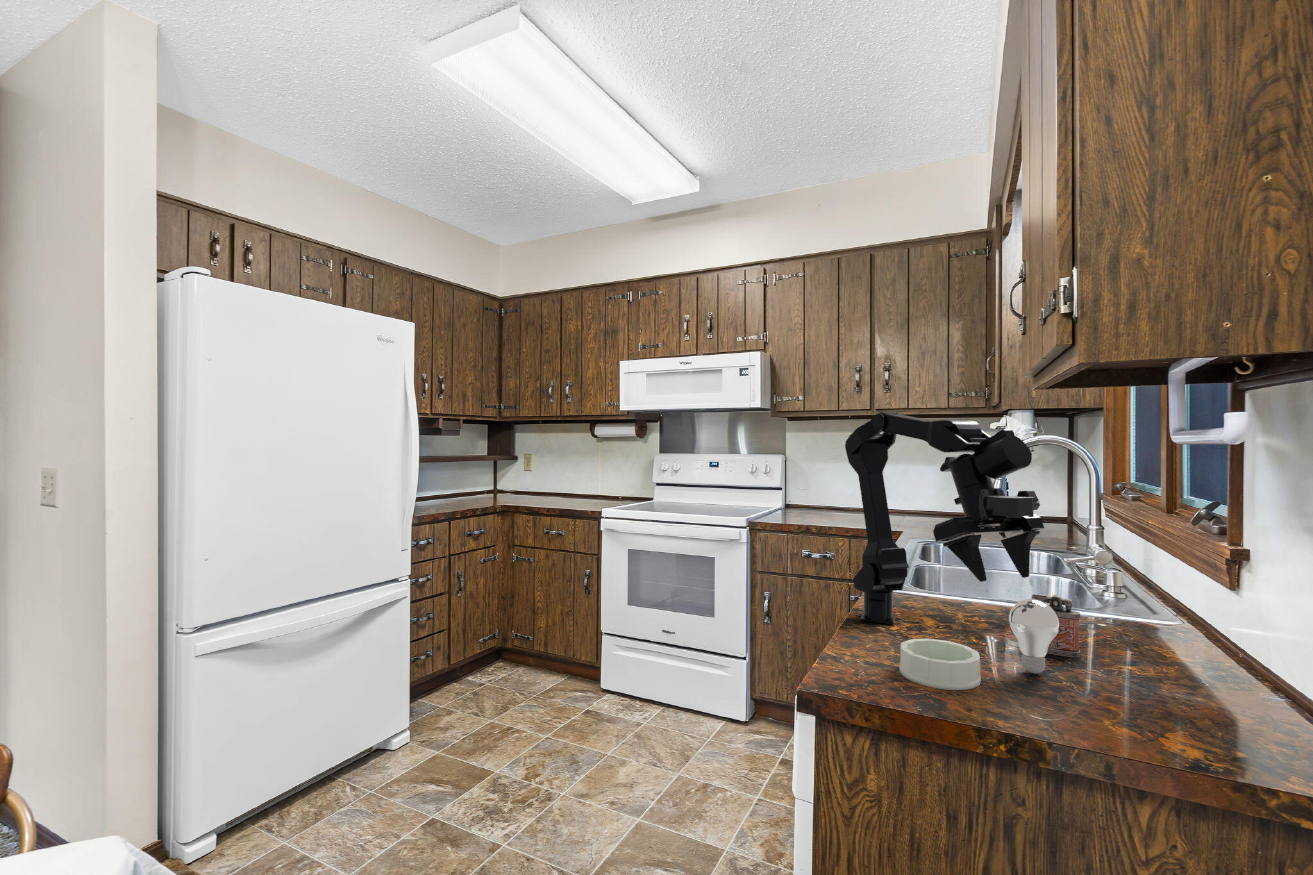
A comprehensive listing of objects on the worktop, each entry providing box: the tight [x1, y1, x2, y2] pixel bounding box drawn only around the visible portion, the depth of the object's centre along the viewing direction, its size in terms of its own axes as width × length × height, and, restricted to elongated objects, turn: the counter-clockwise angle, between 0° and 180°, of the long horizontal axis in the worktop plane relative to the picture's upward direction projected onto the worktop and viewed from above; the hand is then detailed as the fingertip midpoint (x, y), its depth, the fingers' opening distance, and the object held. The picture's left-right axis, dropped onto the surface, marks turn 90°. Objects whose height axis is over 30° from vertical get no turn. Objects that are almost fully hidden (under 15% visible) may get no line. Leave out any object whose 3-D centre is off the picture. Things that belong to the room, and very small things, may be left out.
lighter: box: [1031, 593, 1081, 658], centre depth 112 cm, size 8×3×10 cm, turn 56°
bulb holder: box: [898, 638, 982, 691], centre depth 100 cm, size 12×12×4 cm
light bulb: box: [1008, 598, 1059, 676], centre depth 101 cm, size 7×7×12 cm
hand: (1005, 579), depth 102 cm, fingers open, 9 cm apart
